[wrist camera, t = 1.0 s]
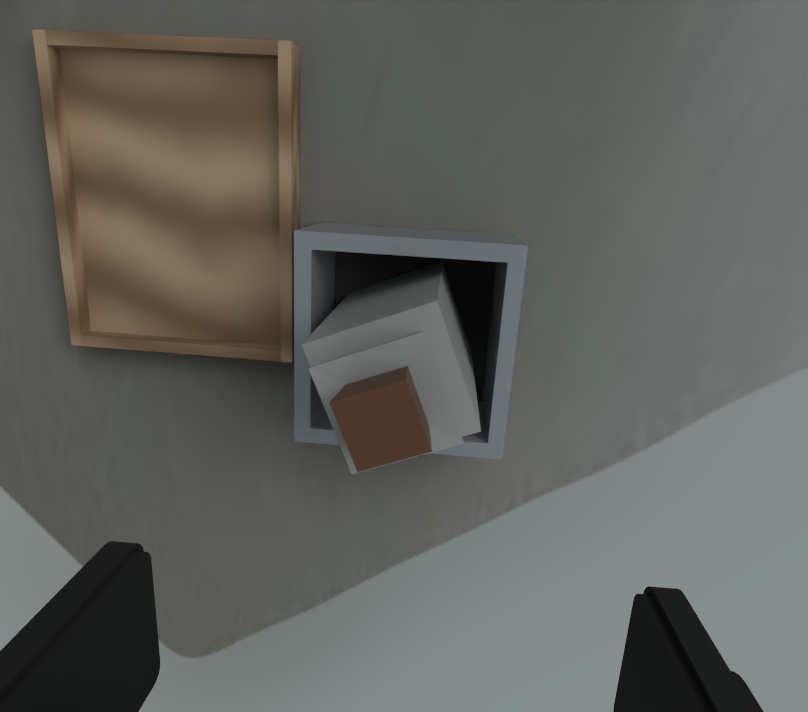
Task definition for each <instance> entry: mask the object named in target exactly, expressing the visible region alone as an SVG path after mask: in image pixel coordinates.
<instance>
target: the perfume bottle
mask: <svg viewBox="0 0 808 712" xmlns="http://www.w3.org/2000/svg"><path fill="white" fill-rule="evenodd" d="M302 347H303V350H304V352H305V355H306V357H307V359H308V362H309V364H310V368H308V369H309V371H310V374H311V376H312V379H313V381H314V384H315V386H316V388H317V391H318V393H319V396H320V398H321V401H322V403H323V406H324V408H325V411H326V413H327V415H328V418H329V420H330V423H331V425H332V428H333V430H334V433H335V435H336V437H337V440H338V442H339V445H340V447H341V450H342V452H343V455H344V457H345V460H346V462H347V464H348V467H349V469H350V472H351V474H356V473H360V472H363V471H367V470H370V469H374V468H378V467H381V466H385V465H388V464H392V463H396V462H399V461H403V460H407V459H410V458H414V457H417V456H421V455H425V454H428V453H432V452H435V451H439V450H443V449H446V448H450V447H454V446H457V445H461V444H464V441H463V438H462V437H463V436H467V435H470V434H474V433H477V432H481V427H480V419H479V410H478V402H477V394H476V385H475V377H474V369H473V360H472V352H471V349H470V346H469V343H468V340H467V337H466V333H465V330H464V327H463V324H462V321H461V318H460V315H459V312H458V309H457V306H456V303H455V300H454V297H453V293H452V290H451V287H450V284H449V281H448V278H447V275H446V272H445V269H444V266H443V263H442V262H439V263H436V264H433V265H430V266H427V267H424V268H421V269H418V270H415V271H412V272H409V273H406V274H403V275H400V276H397V277H394V278H391V279H388V280H385V281H382V282H379V283H376V284H373V285H370V286H367V287H364V288H361V289H358V290H355V291H352V292H350V293H349V294H348V295H347V296H346V297H345V298H344V299H343V300H342V302H341V303H340V304H339V305H338V306H337V307H336V308H335V309H334V310H333V311H332V312H331V313H330V314H329V315H328V317H327V318H326V319H325V320H324V321H323V322H322V323H321V324H320V325H319V326H318V327H317V328H316V329H315V331H314V332H313V333H312V334H311V335H310V336H309V337H308V338H307V339H306V340H305V341H304V342H303V343H302Z"/></svg>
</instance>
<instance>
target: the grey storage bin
mask: <svg viewBox="0 0 808 712" xmlns="http://www.w3.org/2000/svg"><path fill="white" fill-rule="evenodd" d="M335 251H340V252H355V253H370V254H385V255H400V256H415V257H430V258H445V259H460V260H475V261H490V262H496V271H495V281H494V291H493V300H492V310H491V320H490V329H489V339H488V348H487V358H486V368H485V377H484V387H483V397H482V401H477V402H478V410H479V419H480V427H481V432H477V433H474V434H470V435H467V436H463V437H462V438H463V441H464V444H461V445H457V446H454V447H450V448H446V449H443V450H439V451H435V452H432V454H444V455H455V456H466V457H478V458H489V459H501V460H503V453H504V444H505V436H506V427H507V419H508V411H509V402H510V394H511V386H512V377H513V369H514V360H515V352H516V344H517V335H518V327H519V319H520V310H521V302H522V294H523V285H524V277H525V268H526V260H527V252H528V245H527V244H526V243H525V242H523V241H522V240H521V239H520V238H518V237H517V236H516V235H515V234H500V233H484V232H469V231H453V230H437V229H421V228H406V227H390V226H374V225H358V224H343V223H327V222H320V223H317V224H314V225H310V226H307V227H304V228H300V229H297V230H294V441H295V442H306V443H318V444H329V445H339V442H338V440H337V437H336V435H335V433H334V430H333V428H332V425H331V423H330V420H329V418H328V415H327V413H326V411H325V408H324V406H323V403H322V401H321V398H320V396H319V393H318V391H317V388H316V386H315V384H314V381H313V379H312V376H311V374H310V371H309V369H308V368H310V364H309V362H308V359H307V357H306V355H305V352H304V350H303V347H302V343H303V342H304V341H305V340H306V339H307V338H308V337H309V336H310V335H311V334H312V333H313V332H314V331H315V329H316V328H317V327H318V326H319V325H320V324H321V323H322V322H323V321H324V320H325V319H326V318H327V317H328V315H329V314H330V313H331V312H332V311H333V310H334V301H335Z"/></svg>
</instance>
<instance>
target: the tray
mask: <svg viewBox="0 0 808 712" xmlns="http://www.w3.org/2000/svg"><path fill="white" fill-rule="evenodd" d="M32 32H33V40H34V48H35V56H36V64H37V72H38V80H39V88H40V96H41V104H42V112H43V120H44V129H45V137H46V145H47V153H48V161H49V169H50V177H51V185H52V193H53V201H54V209H55V217H56V225H57V233H58V241H59V249H60V258H61V266H62V274H63V282H64V290H65V298H66V306H67V314H68V322H69V330H70V338H71V345H76V346H89V347H102V348H114V349H127V350H140V351H152V352H165V353H178V354H190V355H203V356H216V357H228V358H241V359H254V360H266V361H279V362H293V361H294V230H297V229H300V48H299V47H298V46H296V45H295V44H294V43H293V42H292V41H285V40H262V39H240V38H217V37H194V36H171V35H149V34H126V33H103V32H81V31H58V30H35V29H32Z"/></svg>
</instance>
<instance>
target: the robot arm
mask: <svg viewBox="0 0 808 712" xmlns="http://www.w3.org/2000/svg"><path fill="white" fill-rule="evenodd" d="M159 669H160V655H159V644H158V632H157V621H156V609H155V598H154V586H153V575H152V563H151V556H150V554H149V553H148V552H144V550H143V547H142V546H141V545H140V544H138V543H126V542H114V541H111V542H108V543H107V544H105V545H104V546H103V547H102V548H101V549H100V550H99V551H98V552H97V553H96V554H95V555H94V556H93V557H92V558H91V559H90V560H89V561H88V562H87V563H86V564H85V565H84V566H83V567H82V569H81V570H80V571H79V572H78V573H77V574H76V575H75V576H74V577H73V578H72V579H71V580H70V581H69V582H68V583H67V584H66V585H65V586H64V587H63V588H62V589H61V590H60V591H59V592H58V593H57V594H56V595H55V596H54V597H53V598H52V599H51V600H50V601H49V602H48V603H47V604H46V605H45V606H44V607H43V608H42V609H41V610H40V611H39V612H38V613H37V614H36V615H35V616H34V617H33V618H32V619H31V620H30V621H29V623H28V624H26V625H25V626H24V627H23V628H22V629H21V631H19V633H18V634H17V635H16V636H15V637H14V638H13V639H12V640H11V641H10V642H9V643H8V644H7V645H6V646H5V647H4V648H3V649H2V650H1V651H0V712H138V711H139V710H140V708H141V706H142V705H143V702H144V701H145V700H146V698H147V696H148V694H149V693H150V691H151V690H152V688H153V686H154V684H155V682H156V680H157V677H158V674H159ZM614 712H763V710H762V709H761V707H760V706H759V704H758V702H757V701H756V699H755V697H754V696H753V694H752V693H751V691H750V689H749V688H748V686H747V685H746V683H745V682H744V680H743V679H742V678H741V677H740V676H739V675H738V674H736V673H735V672H732V671H730V670H729V668H728V666H727V665H726V663H725V661H724V660H723V658H722V656H721V655H720V654H719V652H718V650H717V648H716V647H715V645H714V643H713V641H712V640H711V638H710V636H709V635H708V633H707V631H706V630H705V628H704V627H703V625H702V623H701V622H700V620H699V618H698V617H697V615H696V613H695V612H694V610H693V609H692V607H691V605H690V603H689V602H688V600H687V598H686V597H685V595H684V594H683V592H682V591H681V590H679V589H671V588H659V587H646V589H645V590H644V593H643V594H637V595H635V597H634V601H633V607H632V612H631V617H630V623H629V628H628V634H627V639H626V644H625V650H624V655H623V661H622V666H621V671H620V676H619V682H618V687H617V693H616V698H615V704H614Z"/></svg>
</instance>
